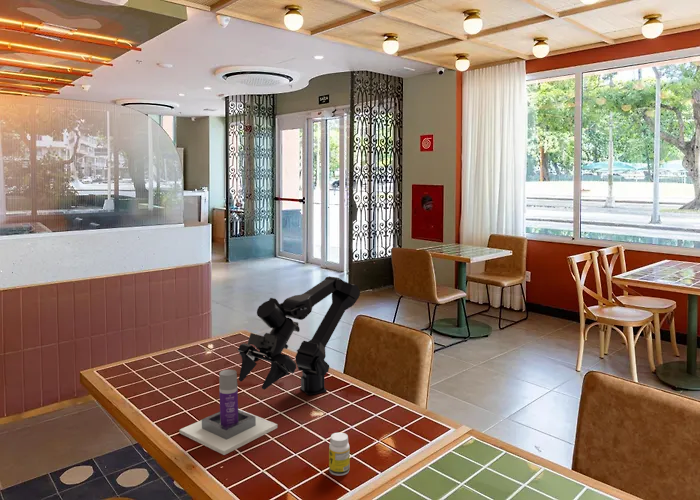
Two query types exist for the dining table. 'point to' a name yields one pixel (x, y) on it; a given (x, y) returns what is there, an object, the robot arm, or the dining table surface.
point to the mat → (232, 443)
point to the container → (228, 397)
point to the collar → (227, 432)
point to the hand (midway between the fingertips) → (251, 384)
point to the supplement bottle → (339, 454)
